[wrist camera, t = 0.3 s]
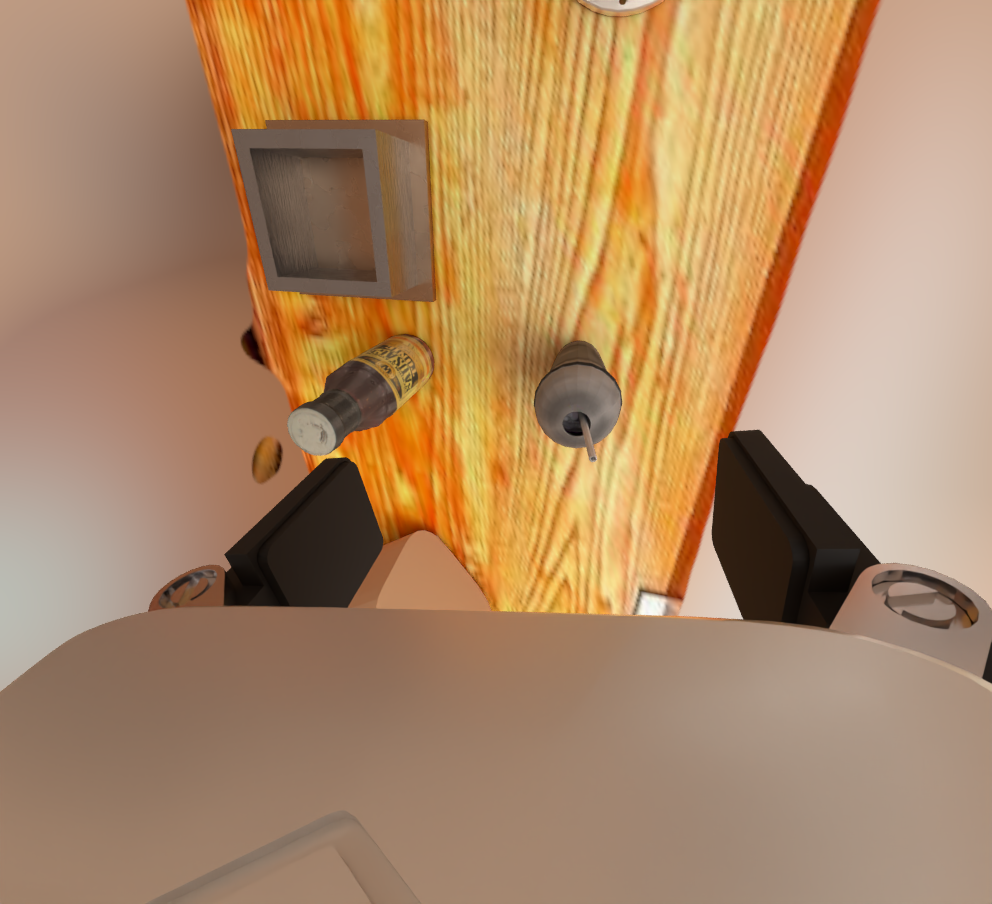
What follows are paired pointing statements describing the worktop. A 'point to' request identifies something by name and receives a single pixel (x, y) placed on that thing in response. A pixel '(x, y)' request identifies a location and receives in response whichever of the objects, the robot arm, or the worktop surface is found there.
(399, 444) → the worktop surface
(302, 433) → the sauce bottle
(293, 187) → the grey square open box
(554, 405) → the beverage cup
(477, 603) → the alarm clock
